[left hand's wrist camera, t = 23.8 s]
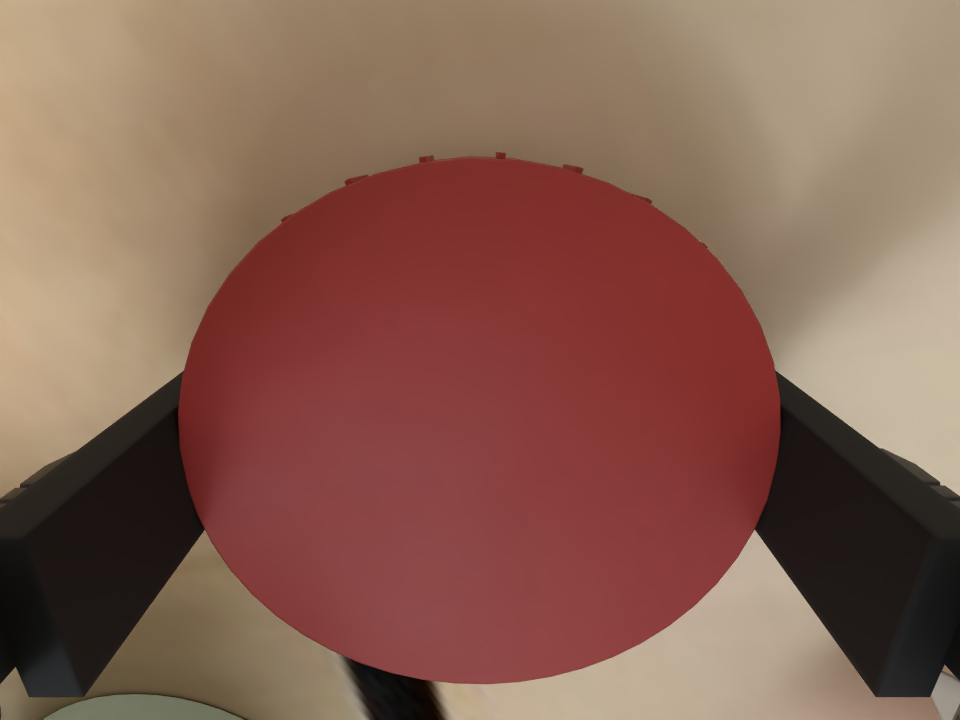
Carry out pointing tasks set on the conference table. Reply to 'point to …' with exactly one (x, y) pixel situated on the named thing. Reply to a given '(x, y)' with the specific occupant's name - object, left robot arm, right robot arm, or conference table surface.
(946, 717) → the fish
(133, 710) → the jar
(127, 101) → the conference table surface
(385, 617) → the lid
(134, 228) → the conference table surface
